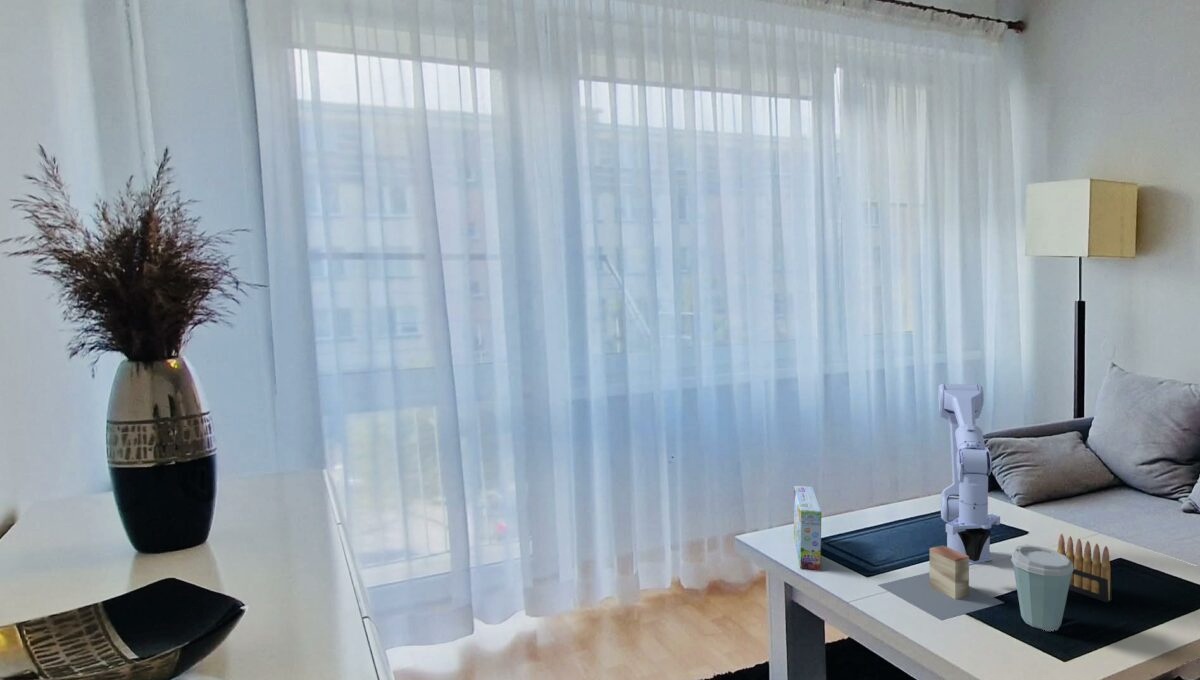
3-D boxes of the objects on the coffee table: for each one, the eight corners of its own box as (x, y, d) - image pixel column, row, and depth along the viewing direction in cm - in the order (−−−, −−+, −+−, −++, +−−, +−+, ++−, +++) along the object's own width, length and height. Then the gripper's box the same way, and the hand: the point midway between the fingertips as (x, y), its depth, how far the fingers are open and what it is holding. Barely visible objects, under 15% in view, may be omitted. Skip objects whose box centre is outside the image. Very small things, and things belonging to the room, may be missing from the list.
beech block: (942, 582, 156) (942, 545, 155) (968, 595, 149) (968, 556, 149) (929, 586, 154) (929, 548, 154) (955, 599, 148) (955, 559, 147)
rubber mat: (936, 572, 162) (936, 570, 162) (1004, 604, 146) (1004, 602, 146) (877, 586, 156) (877, 584, 156) (941, 622, 139) (941, 620, 139)
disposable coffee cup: (1069, 617, 139) (1070, 547, 138) (1076, 643, 130) (1078, 567, 128) (1009, 607, 144) (1010, 539, 143) (1011, 631, 135) (1012, 558, 133)
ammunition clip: (1112, 600, 145) (1113, 546, 144) (1107, 602, 145) (1109, 548, 144) (1058, 582, 155) (1059, 531, 154) (1054, 584, 154) (1054, 533, 153)
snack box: (823, 570, 166) (822, 511, 165) (799, 569, 167) (798, 510, 166) (813, 538, 187) (813, 484, 186) (792, 537, 188) (791, 484, 187)
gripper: (964, 511, 146) (964, 571, 148) (1012, 501, 151) (1012, 559, 153) (938, 502, 153) (937, 560, 154) (984, 492, 158) (984, 548, 159)
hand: (973, 559), depth 154 cm, fingers closed
